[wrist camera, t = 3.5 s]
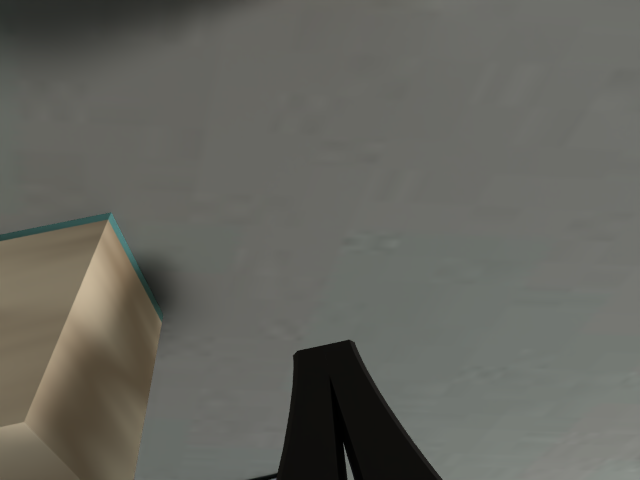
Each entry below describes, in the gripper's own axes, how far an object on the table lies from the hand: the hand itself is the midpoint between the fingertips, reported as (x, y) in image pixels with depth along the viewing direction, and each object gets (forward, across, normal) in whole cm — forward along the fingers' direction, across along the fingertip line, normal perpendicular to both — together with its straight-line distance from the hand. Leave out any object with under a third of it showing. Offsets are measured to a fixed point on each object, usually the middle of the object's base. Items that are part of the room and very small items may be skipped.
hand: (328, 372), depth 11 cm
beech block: (+6, +8, 0) cm, 10 cm away
